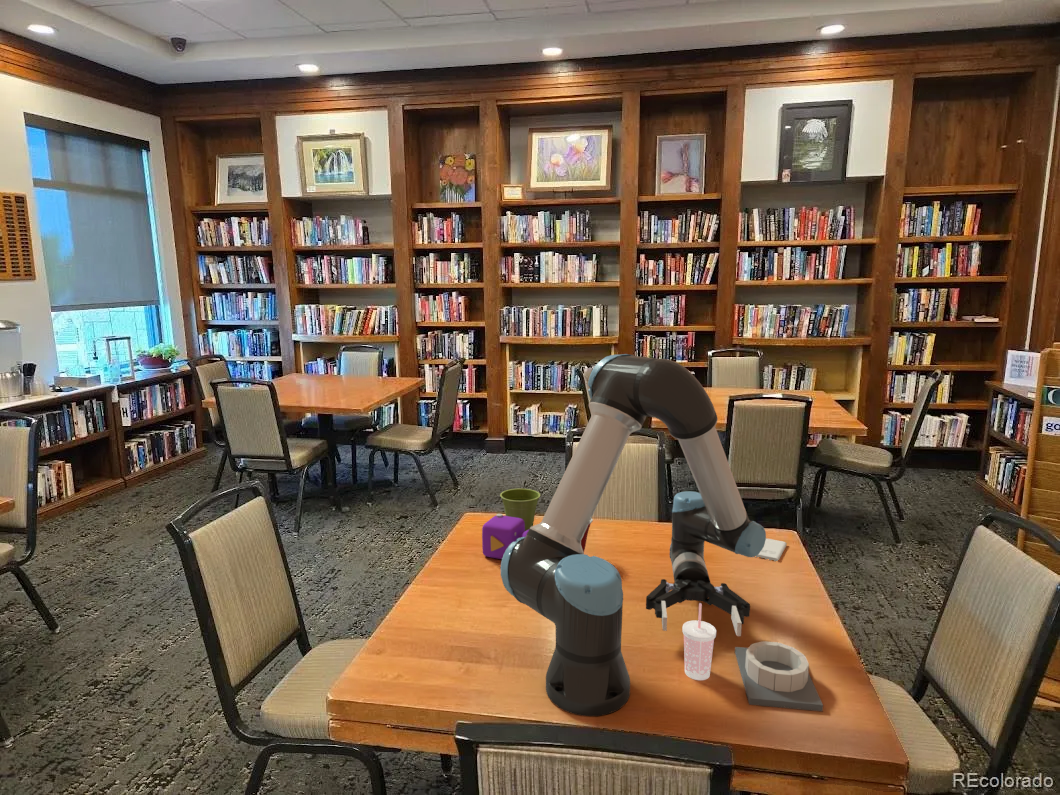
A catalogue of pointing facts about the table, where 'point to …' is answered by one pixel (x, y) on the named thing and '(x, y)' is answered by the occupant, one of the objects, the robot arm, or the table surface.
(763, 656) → the cup holder
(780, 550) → the external hard drive
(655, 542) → the table surface
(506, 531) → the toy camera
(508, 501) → the plant pot
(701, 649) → the beverage cup
